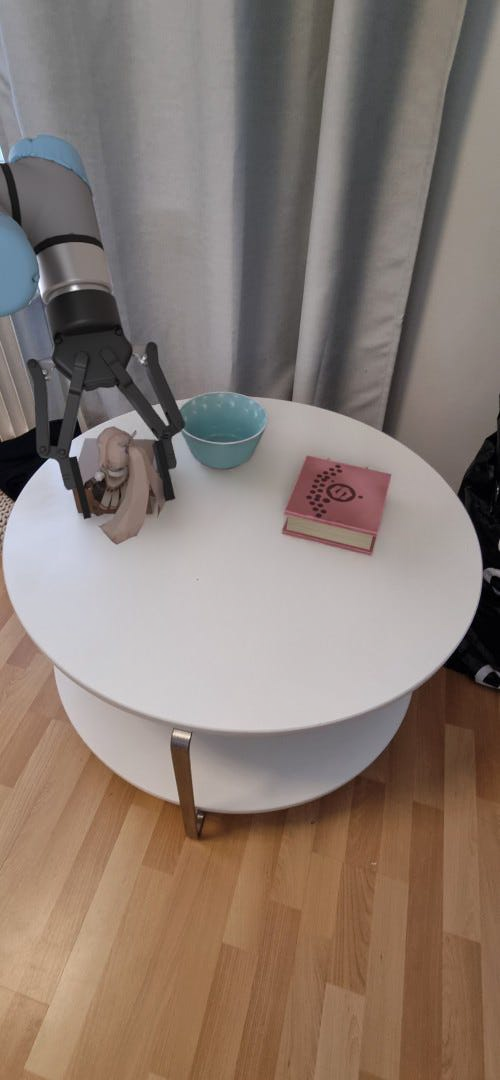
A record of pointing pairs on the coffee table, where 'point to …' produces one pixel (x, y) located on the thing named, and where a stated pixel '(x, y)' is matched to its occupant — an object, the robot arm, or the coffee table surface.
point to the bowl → (223, 428)
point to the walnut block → (91, 466)
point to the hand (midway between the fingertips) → (129, 508)
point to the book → (337, 505)
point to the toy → (123, 484)
